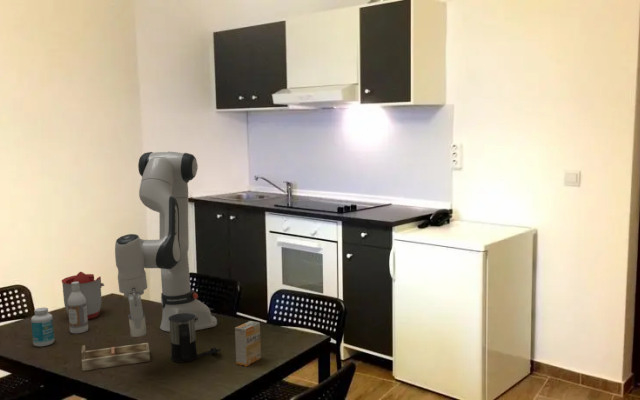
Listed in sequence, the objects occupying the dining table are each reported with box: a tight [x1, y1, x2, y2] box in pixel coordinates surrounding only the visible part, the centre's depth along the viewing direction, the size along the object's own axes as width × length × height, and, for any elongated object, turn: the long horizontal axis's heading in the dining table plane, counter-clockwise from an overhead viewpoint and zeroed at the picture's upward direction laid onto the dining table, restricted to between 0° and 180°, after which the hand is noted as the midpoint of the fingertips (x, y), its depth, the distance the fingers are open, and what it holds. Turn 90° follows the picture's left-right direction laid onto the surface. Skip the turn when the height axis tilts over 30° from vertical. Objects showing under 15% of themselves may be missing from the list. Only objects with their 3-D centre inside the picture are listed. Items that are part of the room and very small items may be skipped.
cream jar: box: [127, 311, 147, 338], centre depth 205 cm, size 5×5×7 cm
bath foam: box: [67, 282, 89, 334], centre depth 247 cm, size 7×7×20 cm
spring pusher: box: [110, 346, 115, 356], centre depth 215 cm, size 1×6×3 cm, turn 19°
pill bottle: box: [30, 307, 55, 347], centre depth 234 cm, size 8×7×14 cm
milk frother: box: [168, 313, 222, 363], centre depth 216 cm, size 14×16×15 cm
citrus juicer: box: [61, 271, 105, 320], centre depth 265 cm, size 16×17×20 cm
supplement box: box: [234, 320, 262, 367], centre depth 211 cm, size 8×5×13 cm, turn 148°
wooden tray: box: [80, 342, 151, 372], centre depth 215 cm, size 22×9×6 cm, turn 108°
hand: (137, 325), depth 205 cm, fingers closed on cream jar, 5 cm apart
